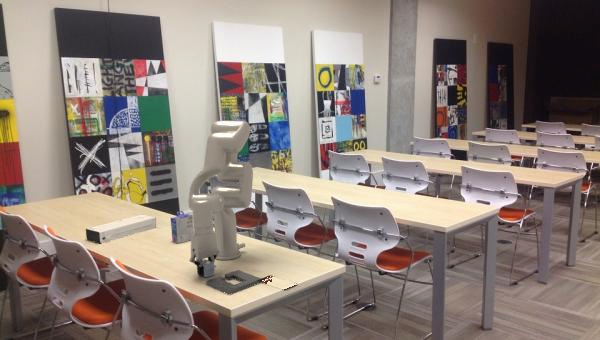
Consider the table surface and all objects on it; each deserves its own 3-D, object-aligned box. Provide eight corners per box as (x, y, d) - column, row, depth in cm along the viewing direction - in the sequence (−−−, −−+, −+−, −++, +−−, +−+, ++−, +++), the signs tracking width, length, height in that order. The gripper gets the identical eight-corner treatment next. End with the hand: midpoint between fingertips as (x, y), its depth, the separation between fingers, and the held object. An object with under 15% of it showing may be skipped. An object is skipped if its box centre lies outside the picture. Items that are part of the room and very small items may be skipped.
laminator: (143, 225, 284) (142, 214, 283) (157, 228, 277) (157, 217, 276) (86, 240, 257) (85, 228, 256) (101, 245, 250) (100, 232, 249)
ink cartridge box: (188, 237, 260) (186, 209, 257) (194, 239, 256) (193, 210, 253) (171, 241, 252) (169, 212, 250) (177, 243, 249) (176, 214, 246)
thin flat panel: (269, 275, 206) (298, 284, 197) (269, 276, 206) (298, 285, 197) (256, 280, 201) (285, 289, 191) (256, 282, 201) (285, 291, 191)
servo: (203, 269, 212) (202, 256, 211) (216, 275, 206) (216, 262, 205) (195, 272, 209) (194, 259, 208) (208, 278, 203) (207, 264, 202)
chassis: (238, 273, 209) (238, 269, 209) (261, 282, 200) (261, 278, 199) (205, 284, 198) (205, 281, 197) (229, 294, 188) (228, 290, 188)
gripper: (214, 223, 213) (216, 265, 216) (179, 232, 201) (182, 277, 204) (226, 226, 208) (228, 269, 211) (191, 236, 196) (193, 282, 199)
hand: (205, 273), depth 208 cm, fingers closed on servo, 4 cm apart
